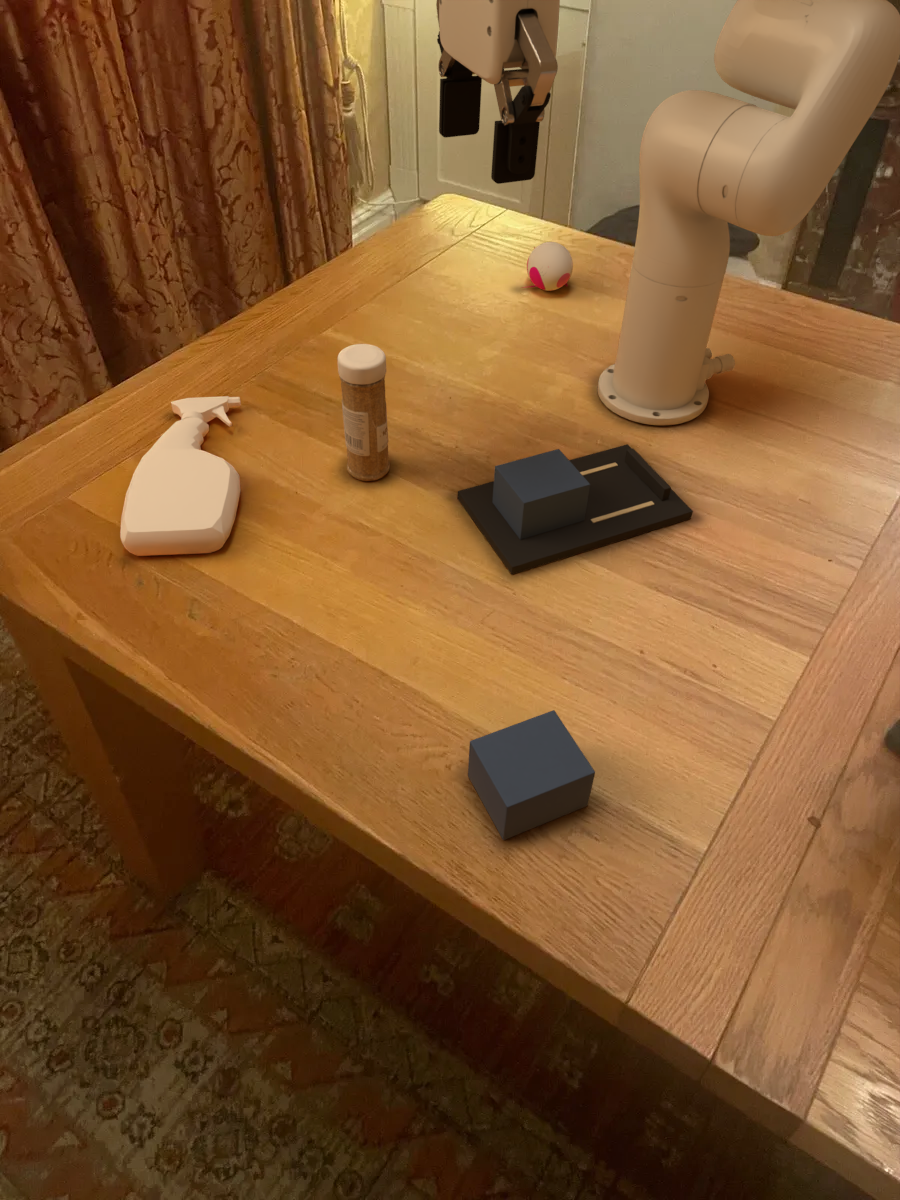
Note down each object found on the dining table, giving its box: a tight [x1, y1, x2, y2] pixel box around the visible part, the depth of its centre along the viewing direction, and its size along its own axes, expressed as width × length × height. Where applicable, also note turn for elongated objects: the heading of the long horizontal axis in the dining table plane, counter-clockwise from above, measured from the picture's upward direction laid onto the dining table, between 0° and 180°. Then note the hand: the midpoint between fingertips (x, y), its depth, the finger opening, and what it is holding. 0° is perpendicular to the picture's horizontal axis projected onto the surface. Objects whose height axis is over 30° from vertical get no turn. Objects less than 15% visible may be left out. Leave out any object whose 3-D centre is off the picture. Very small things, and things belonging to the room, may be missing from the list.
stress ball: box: [521, 241, 574, 292], centre depth 121 cm, size 8×8×7 cm
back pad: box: [467, 709, 596, 841], centre depth 66 cm, size 7×6×4 cm
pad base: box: [457, 443, 694, 575], centre depth 88 cm, size 20×12×6 cm, turn 114°
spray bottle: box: [119, 395, 242, 557], centre depth 92 cm, size 3×11×24 cm
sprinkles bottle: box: [337, 343, 391, 482], centre depth 89 cm, size 5×5×13 cm
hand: (484, 156), depth 68 cm, fingers open, 9 cm apart
